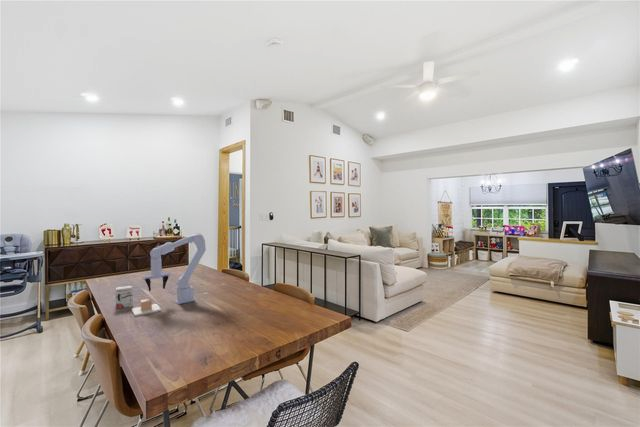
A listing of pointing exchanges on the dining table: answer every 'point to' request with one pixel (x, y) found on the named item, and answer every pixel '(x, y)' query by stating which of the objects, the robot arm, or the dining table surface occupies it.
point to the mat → (138, 311)
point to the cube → (146, 304)
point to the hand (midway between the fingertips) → (156, 289)
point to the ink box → (124, 297)
